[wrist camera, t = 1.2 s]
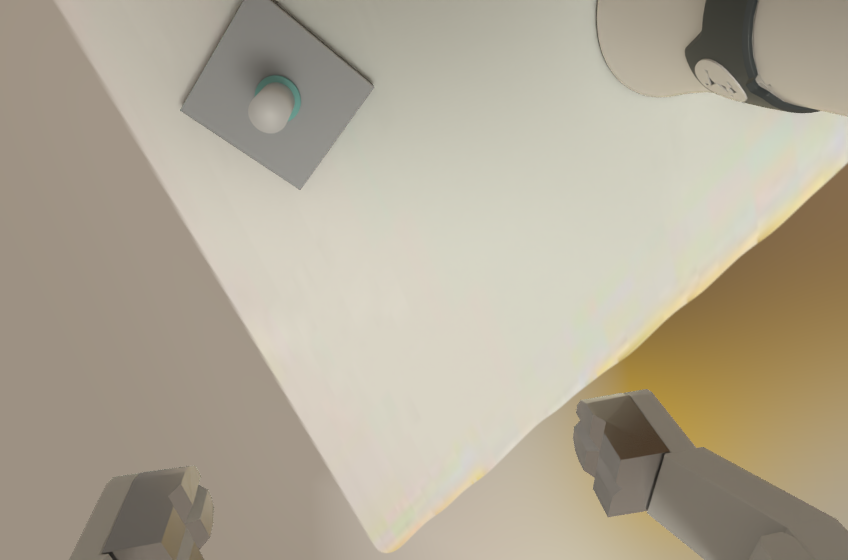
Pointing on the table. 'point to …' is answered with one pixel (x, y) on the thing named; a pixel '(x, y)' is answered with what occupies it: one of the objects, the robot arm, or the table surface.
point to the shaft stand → (276, 92)
